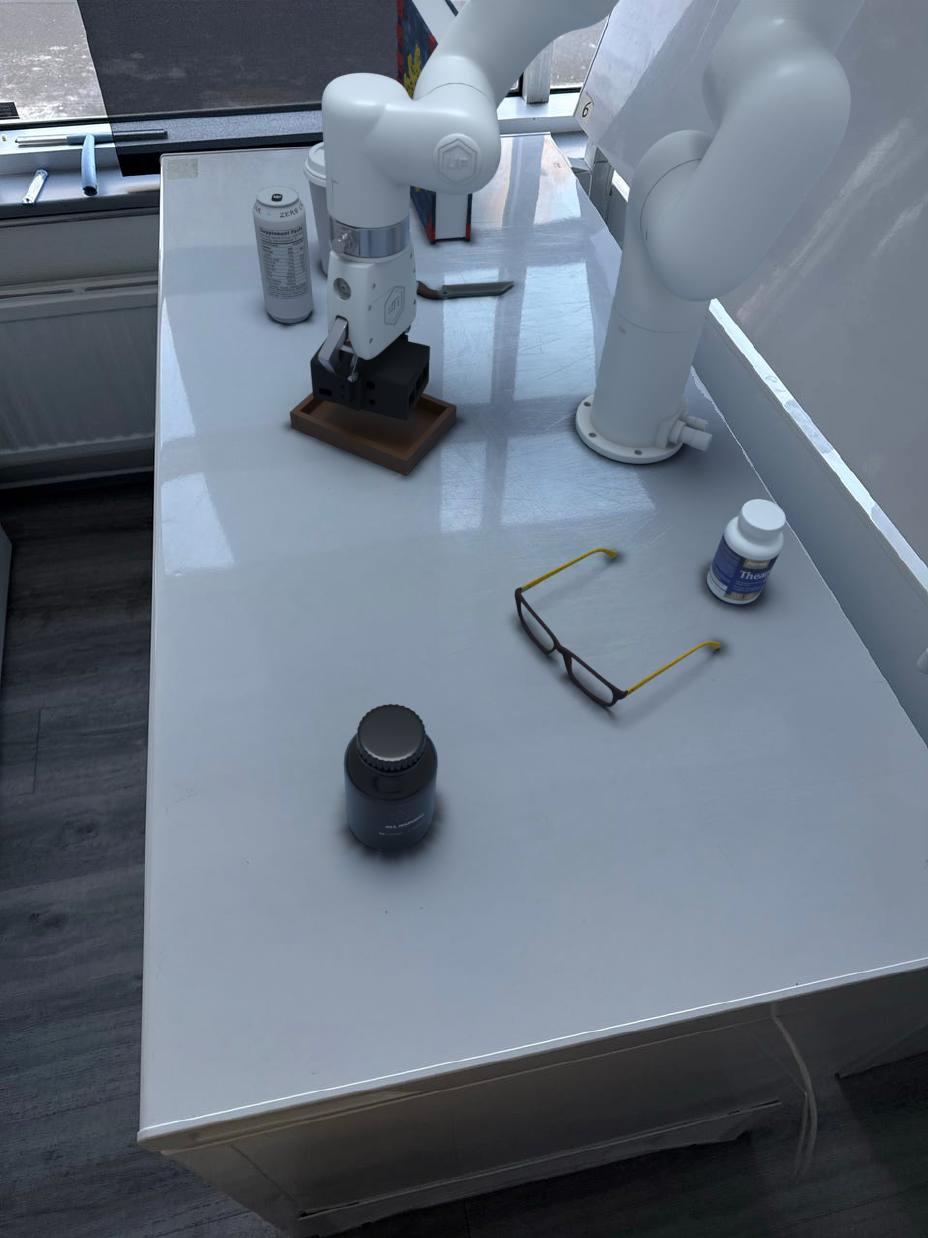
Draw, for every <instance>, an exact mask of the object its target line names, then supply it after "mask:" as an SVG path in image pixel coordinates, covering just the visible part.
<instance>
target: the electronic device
mask: <svg viewBox="0 0 928 1238" xmlns="http://www.w3.org/2000/svg"><path fill="white" fill-rule="evenodd" d="M326 339H327V337H326V338H325V340H324V341H323V342H322V344H321V345H320V346H319V348H318V349H317V350H316V352H315V353H314V354H313V356H312V357H311V358H310V362H309V363H310V364H309V366H310V378H311V391H312V392H313V398H316V399H320V400H324V401H328V402H332V403H336V404H338V403H337V402H336V401H335V398H334V381H333V374H331V373H330V372H328V371H326V370H325V369H324V366H323V365H322V364H321V362H320V361H319V359H318V354H319V352H320V350H321V348H322V346H323V345H324V343H325V341H326ZM346 345H349V346H352V344H351V341H350V339H348V340H347V341H346ZM352 347H353V346H352ZM430 358H431V346H430V345H426V344H422V343H419V342H414V341H410V340H408V341H406V340H402V339H397V338H396V339H395V340H394V341H393V342H392V343H391V344H389V345H388V346H387V347H386V348H385V349H384V350H383V351H382V352H380V353H379V354H378V355H377V356H375V357H374V358H372V359H369V360H365V359H363V361H362V364H361V368H360V371H359V374H358V376H359V377H361V378H362V393H363V408H362V409H361V410H364V411H368V412H372V413H377V414H381V415H385V416H389V417H393V418H397V419H401V420H405V421H407V420H408V419H409V417H410V415H411V413H412V411H413V410H414V408H415V406H416V404H417V402H418V401H419V399H420V397H421V395H422V394H423V393H425V390H426V388H427V387H428V384H429V381H430ZM352 359H353V354H351V353H348V352H345V353H344V356H343V359H342V363H343V364H345V365H346V366H348V367H350V366H351V362H352ZM312 392H311V393H312ZM340 405H341V404H340Z"/></svg>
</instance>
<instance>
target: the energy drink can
mask: <svg viewBox="0 0 928 1238" xmlns="http://www.w3.org/2000/svg"><path fill="white" fill-rule="evenodd" d="M299 197H300V196H299V192H298V191H297V190H296V189H295V188H293V187H291V186H288V185H283V184H282V185H281V184H272V185H268V186H264V187H261V188H260V189H258V191H257V192H256V193H255V198H256V200H255V202H254V204H253V206H252V219H253V225H254V232H255V240H256V248H257V255H258V263H259V264H258V265H259V271H260V277H261V278H260V279H261V286H262V293H263V301H264V308H265V310H266V313H268V314H269V315H270V316H271V318H272V319H274V321H277V322H280V323H282V324H295V323H299V322H303V321H304V320H306V319H308V317H309V316H310V314H311V312H312V310H313V308H314V298H313V297H314V296H313V285H312V284H313V283H312V275H311V273H312V272H311V261H310V251H309V239H308V227H307V216H306V215H307V214H306V207H305V205H304V203H303V202H302V200H301V199H300V198H299Z"/></svg>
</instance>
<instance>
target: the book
mask: <svg viewBox="0 0 928 1238" xmlns="http://www.w3.org/2000/svg"><path fill="white" fill-rule="evenodd" d="M459 12H460V11H459V10H458V8H456V6H455V4H454V3H453V2H452V0H396V13H397V23H396V24H395V25H396V41H397V49H396V50H395V51H396V52H395V53H396V64H397V66H396V67H397V76H396V81H397V82H399V83H400V84H401V85H402V86H403V87H404V88H405V90H406V91H407V93H408V95H409V97H410V98H411V99H412V100H413V95H414V90H415V87H416V84H417V81H418V78H419V76H420V74H421V72H422V70H423V68H424V66H425V65H426V63H427V61H428V60H429V58H430V57H431V55H432V53H433V52H434V50H435V49H436V47H437V45H438V44H439V42H440V41H441V39H442V38H443V36H444V35H445V33H446V32H447V30H448V28H449V27H450V25H451V24H452V22H453V21H454V19H455V18H456V16H457V15H458V13H459ZM473 196H474V193H471V194H465V195H449V194H443V193H438V192H434V191H430V190H426V189H423V188H419V187H415V186H411V185H410V199H411V200H412V202H413V205H414V207H415V209H416V211H417V212H416V213H417V215H418V216H419V219H420V221H421V223H422V226H423V228H424V232H425V234H426V237H427V239H428V241H429V242H430V243H429V244H430V245H435V244H436V240H440V239H453V238H463V239H464V240H465V243H466V242H471V232H472V231H471V230H472V213H473V212H472V211H473Z"/></svg>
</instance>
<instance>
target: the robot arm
mask: <svg viewBox="0 0 928 1238" xmlns="http://www.w3.org/2000/svg"><path fill="white" fill-rule="evenodd" d="M619 2H620V0H466V1H465V3H464V4H463V6H462V7H461V8H460V10H459V11H458V12H459V13H458V15H457V16H456V18H455V19H454V21H453V22H452V24H451V25H450V27H449V28H448V30H447V32H446V33H445V35H444V36H443V38H442V39H441V41H440V42H439V44H438V45H437V47H436V49H435V50H434V52H433V53H432V55H431V57H430V58H429V60H428V61H427V63H426V65H425V66H424V68H423V70H422V72H421V74H420V76H419V78H418V81H417V84H416V87H415V90H414V95H413V100H412V99H411V98H410V97H409V95H408V93H407V91H406V90H405V88H404V87H403V86H402V85H401V84H400V83H399V82H397V79H394V78H391V77H390V76H386V75H383V74H379V73H371V72H354V73H348V74H344V75H341V76H338V77H336V78H334V79H332V80H331V81H330V82H329V83H328V84H327V86H326V87H325V88H324V91H323V93H322V99H321V123H322V137H323V138H322V142H324V159H325V175H326V193H327V212H328V229H329V244H330V247H331V249H332V250H331V252H330V257H329V266H328V275H327V283H326V284H327V285H326V319H327V331H328V335H327V336H326V338H327V339H326V338H325V340H326V341H325V340H324V341H325V343H324V345H323V346H322V348H321V350H320V352H319V354H318V359H319V361H320V362H321V364H322V365H323V366H324V369H325V370H326V371H328V372H330V373H331V374H333V381H334V398H335V401H336V402H337V403H338V404H341V405H343V406H346V407H348V408H350V409H353V410H355V411H360V410H361V409H362V408H363V393H362V378H361V377H359V376H358V374H359V371H360V368H361V364H362V361H363V359H365V360H369V359H372V358H374V357H375V356H377V355H378V354H379V353H380V352H382V351H383V350H384V349H385V348H386V347H387V346H388V345H389V344H391V343H392V342H393V341H394V340H395V339H396V338H397V339H402V340H406V341H409V333H410V332H411V329H412V324H413V323H414V321H415V320H416V316H417V288H418V281H419V280H417V273H416V259H415V250H414V245H413V240H412V235H411V232H410V209H411V208H410V207H411V205H410V204H411V195H410V185H411V186H415V187H419V188H423V189H426V190H430V191H434V192H438V193H443V194H449V195H465V194H471V193H473V194H474V193H477V192H478V191H480V190H482V189H484V188H485V187H486V186H487V185H489V183H490V182H492V180H493V179H494V177H495V176H496V174H497V171H498V170H499V167H500V163H501V159H502V138H501V132H500V131H501V130H500V123H499V118H498V111H497V110H498V108H499V107H500V105H501V104H502V102H503V101H504V99H506V97H507V95H508V94H509V93H510V91H511V90H512V88H513V86H514V85H515V84H516V83H517V82H518V80H519V79H520V77H522V75H523V73H524V72H525V71H526V70H527V68H528V67H529V66H530V65H531V63H532V62H533V61H534V60H535V59H536V57H538V56H539V55H540V53H542V51H543V50H544V49H545V48H546V47H548V46H549V45H550V44H551V43H553V42H554V41H555V40H557V39H558V38H560V37H561V36H564V35H566V34H568V33H571V32H574V31H579V30H582V29H587V28H589V27H590V28H591V27H592V26H594V25H597V24H598V23H600V22H602V21H603V20H605V19H606V18H607V17H608V16H609V15H611V12H612V11H613V10H614V9H615V7H616V6H617V5H618V3H619ZM865 2H866V0H739V3H738V4H737V6H736V8H735V10H734V11H733V13H732V15H731V17H730V19H729V21H728V23H727V24H726V26H725V28H724V30H723V31H722V33H721V34H720V36H719V38H718V40H717V41H716V43H715V45H714V47H713V49H712V51H711V53H710V54H709V56H708V60H707V61H706V64H705V67H704V70H703V74H702V80H701V93H702V99H703V102H704V106H705V108H706V111H707V113H708V116H709V118H710V120H711V122H712V124H713V126H714V128H715V130H716V134H715V136H713V135H711V134H709V133H707V132H705V131H701V130H698V129H697V130H695V129H683V130H677V131H674V132H671V133H669V134H667V135H665V136H663V137H661V138H660V139H659V140H657V141H656V142H655V143H654V144H653V145H651V146H650V148H649V149H648V150H647V151H646V152H645V154H643V156H642V157H641V159H640V160H639V163H638V164H637V166H636V168H635V170H634V172H633V176H632V177H631V178H632V179H631V181H630V186H629V189H628V196H627V202H626V211H625V220H624V221H625V222H624V231H623V242H622V250H621V256H620V263H619V267H618V268H619V269H618V274H617V279H616V285H615V290H614V294H613V298H612V304H611V308H610V313H609V319H608V323H607V328H606V333H605V337H604V338H605V339H604V343H603V347H602V352H601V358H600V362H599V368H598V373H597V377H596V382H595V388H594V392H592V393H591V394H589V395H588V396H586V397H585V398H584V399H583V400H581V402H580V404H579V405H578V407H577V410H576V413H575V420H574V425H575V429H576V432H577V434H578V436H579V437H580V439H581V440H582V442H583V443H584V444H586V445H587V446H588V447H589V448H590V449H592V450H593V451H594V452H596V453H598V454H599V455H601V456H604V457H605V458H608V459H611V460H613V461H618V462H620V463H621V462H622V463H626V464H636V465H637V464H639V465H640V464H641V465H642V464H652V463H657V462H661V461H663V460H666V459H669V458H670V457H672V456H673V455H675V454H676V453H677V452H678V451H679V450H680V449H681V447H682V446H683V444H685V445H688V446H690V447H692V448H694V449H697V450H699V451H703V452H707V450H708V448H709V446H710V444H711V441H712V438H713V435H712V434H711V433H708V432H705V431H706V430H707V428H708V425H709V421H708V420H706V419H703V418H700V417H696V416H693V415H690V412H688V411H686V408H687V405H688V402H689V398H688V397H686V396H684V393H685V390H686V386H687V383H688V380H689V376H690V373H691V369H692V367H693V363H694V359H695V356H696V352H697V350H698V349H697V348H698V345H699V342H700V340H701V339H700V338H701V336H702V331H703V328H704V325H705V321H706V319H707V315H708V313H709V309H710V305H711V303H712V300H716V299H718V298H721V297H723V296H725V295H727V294H729V293H730V292H732V291H734V290H735V289H736V288H738V286H741V285H742V284H743V283H744V282H745V281H746V280H747V279H748V278H749V277H750V276H751V275H752V274H753V273H754V271H755V270H756V269H757V268H758V267H759V266H760V264H761V263H762V262H763V260H764V259H765V258H766V257H767V255H768V254H769V252H771V249H772V248H774V246H775V244H776V243H777V241H778V240H779V238H780V237H781V235H782V234H783V233H784V231H785V230H786V229H787V227H788V225H789V224H790V223H791V221H792V220H793V219H794V217H795V216H796V214H797V213H798V211H799V210H800V209H801V207H802V206H803V204H804V203H805V201H806V200H807V198H808V197H809V195H810V194H811V193H812V191H813V190H814V188H815V187H816V186H817V184H818V183H819V181H820V180H821V179H822V177H823V176H824V174H825V173H826V171H827V169H828V167H829V166H830V164H831V163H832V161H833V160H834V158H835V156H836V154H837V152H838V150H839V148H840V146H841V144H842V141H843V138H844V136H845V134H846V130H847V127H848V124H849V119H850V116H851V115H850V114H851V107H852V95H851V94H852V93H851V87H850V82H849V79H848V77H847V74H846V71H845V69H844V68H843V67H844V66H842V64H841V62H840V61H839V60H838V58H837V56H836V53H837V52H838V49H839V47H840V45H841V43H842V41H843V40H844V37H845V36H846V34H847V33H848V30H850V27H851V26H852V24H853V23H854V21H855V19H856V17H857V16H858V14H859V13H860V11H861V9H862V7H863V6H864V4H865ZM416 280H417V281H416ZM348 339H350V341H351V344H352V346H353V347H352V346H349V345H346V341H347V340H348ZM345 352H348V353H351V354H353V359H352V362H351V366H350V367H348V366H346V365H345V364H343V363H342V359H343V356H344V353H345Z"/></svg>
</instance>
